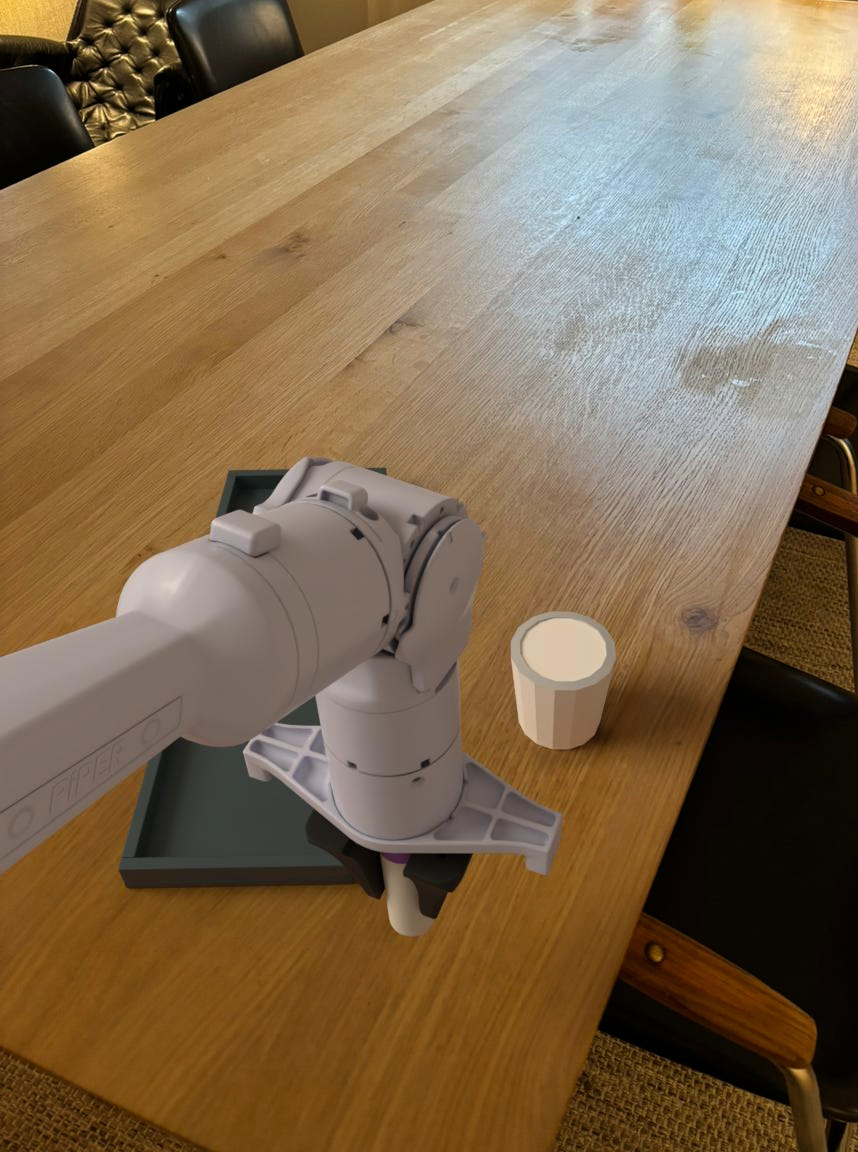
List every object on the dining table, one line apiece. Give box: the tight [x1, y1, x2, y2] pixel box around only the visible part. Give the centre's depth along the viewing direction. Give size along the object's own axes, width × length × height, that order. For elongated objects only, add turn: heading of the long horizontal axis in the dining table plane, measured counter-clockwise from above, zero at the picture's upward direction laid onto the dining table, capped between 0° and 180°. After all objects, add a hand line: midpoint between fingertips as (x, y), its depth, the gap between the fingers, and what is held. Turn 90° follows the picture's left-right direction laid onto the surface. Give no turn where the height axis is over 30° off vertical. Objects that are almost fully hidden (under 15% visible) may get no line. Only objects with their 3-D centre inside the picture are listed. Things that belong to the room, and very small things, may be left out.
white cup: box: [510, 610, 617, 750], centre depth 68 cm, size 7×7×7 cm
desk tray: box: [117, 467, 388, 889], centre depth 75 cm, size 38×14×2 cm, turn 1°
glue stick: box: [380, 852, 436, 937], centre depth 50 cm, size 3×3×9 cm
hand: (409, 890), depth 51 cm, fingers closed on glue stick, 2 cm apart
